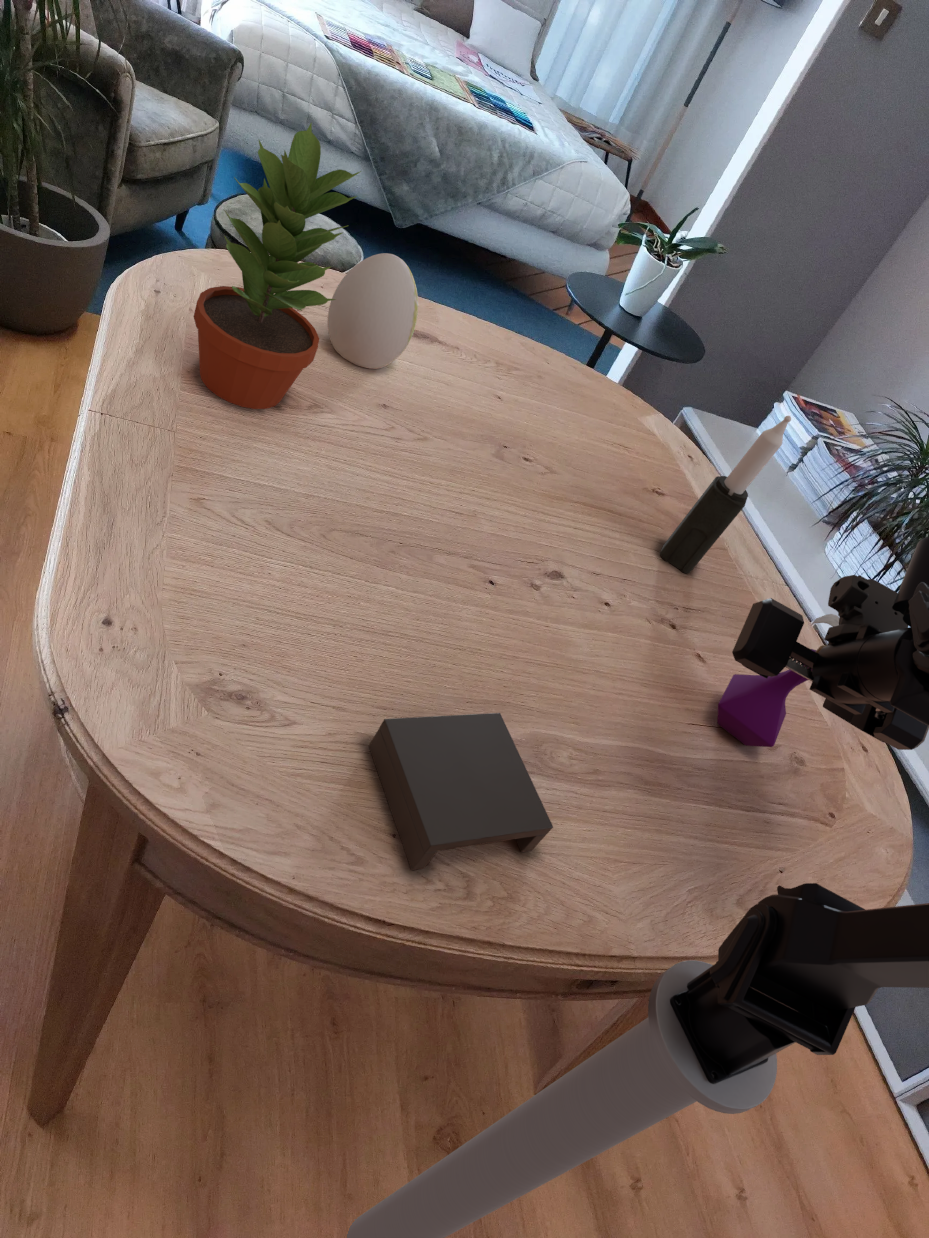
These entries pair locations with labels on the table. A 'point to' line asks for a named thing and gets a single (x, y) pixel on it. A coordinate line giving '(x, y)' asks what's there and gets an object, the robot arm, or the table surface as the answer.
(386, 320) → the decorative egg
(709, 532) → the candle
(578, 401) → the table surface
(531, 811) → the shelf
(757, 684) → the perfume bottle
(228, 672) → the table surface
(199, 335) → the potted plant
